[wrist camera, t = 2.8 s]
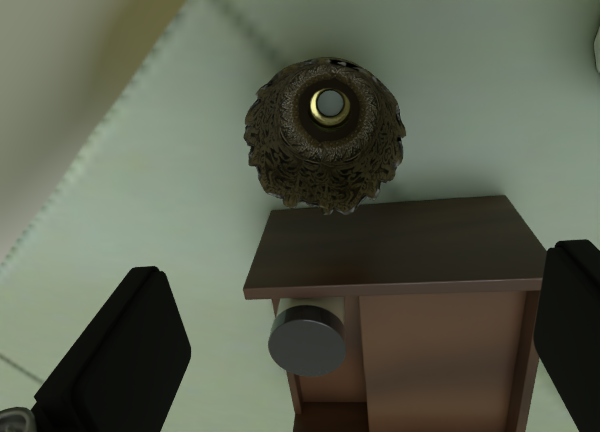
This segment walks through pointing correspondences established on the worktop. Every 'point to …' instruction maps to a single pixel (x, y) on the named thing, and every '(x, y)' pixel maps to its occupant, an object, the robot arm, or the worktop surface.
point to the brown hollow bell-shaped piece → (324, 136)
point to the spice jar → (309, 335)
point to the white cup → (597, 50)
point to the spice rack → (413, 312)
